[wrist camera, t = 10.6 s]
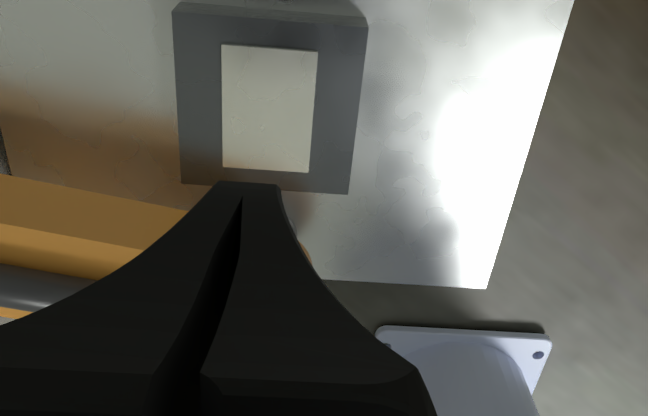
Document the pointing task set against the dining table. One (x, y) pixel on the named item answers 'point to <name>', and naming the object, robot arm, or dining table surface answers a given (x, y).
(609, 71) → the dining table surface
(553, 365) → the dining table surface
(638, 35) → the dining table surface
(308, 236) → the server panel
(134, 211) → the cable arm
